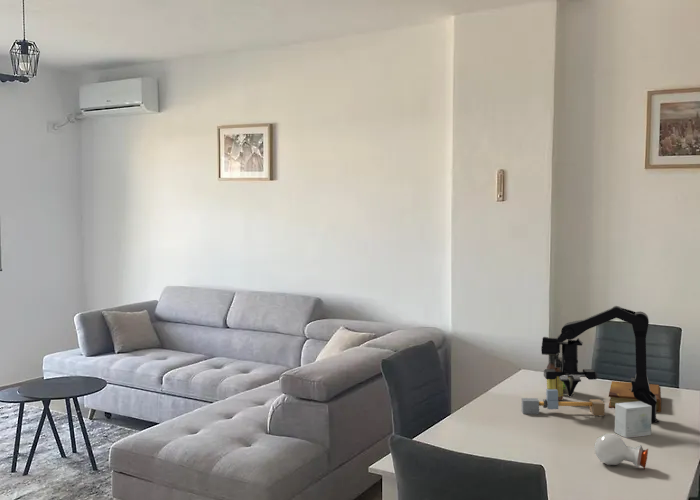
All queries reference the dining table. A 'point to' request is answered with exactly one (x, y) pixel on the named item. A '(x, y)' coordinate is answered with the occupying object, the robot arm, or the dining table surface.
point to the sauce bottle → (556, 382)
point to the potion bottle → (618, 451)
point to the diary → (630, 394)
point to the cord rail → (533, 405)
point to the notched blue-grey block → (552, 398)
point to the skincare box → (633, 419)
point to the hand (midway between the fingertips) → (569, 396)
